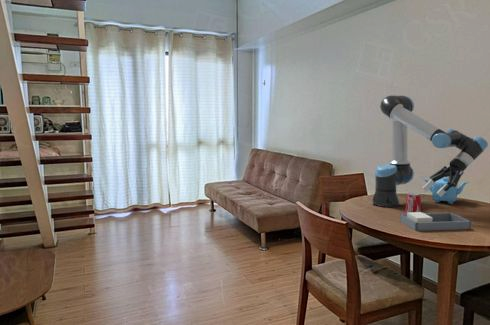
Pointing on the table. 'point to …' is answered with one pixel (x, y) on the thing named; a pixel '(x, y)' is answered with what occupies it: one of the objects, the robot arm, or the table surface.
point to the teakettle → (448, 195)
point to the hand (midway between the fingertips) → (431, 192)
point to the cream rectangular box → (419, 217)
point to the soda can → (413, 202)
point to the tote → (438, 222)
